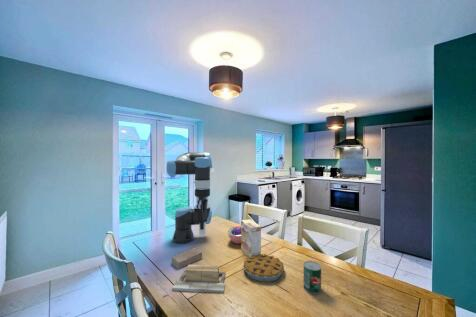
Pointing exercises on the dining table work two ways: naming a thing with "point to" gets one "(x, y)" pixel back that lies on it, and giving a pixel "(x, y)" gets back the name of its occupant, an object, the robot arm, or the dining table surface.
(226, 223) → the dining table surface
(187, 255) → the brick
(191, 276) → the plank
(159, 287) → the dining table surface
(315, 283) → the canned tomato
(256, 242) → the coffeecake box
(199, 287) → the floor panel
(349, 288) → the dining table surface
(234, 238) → the cell model
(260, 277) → the pie
